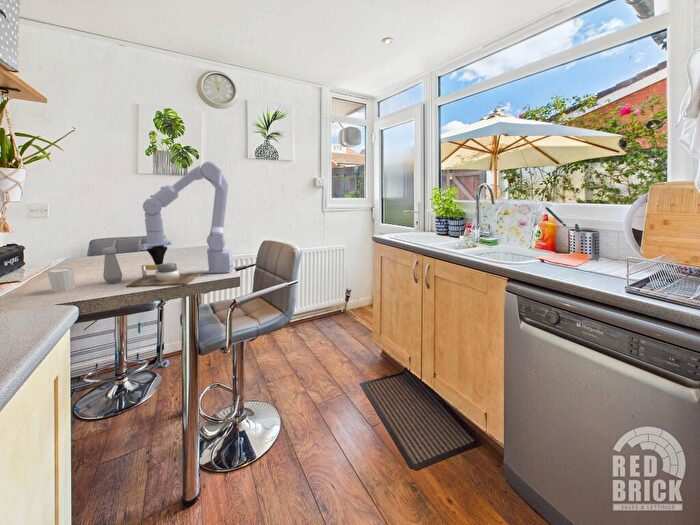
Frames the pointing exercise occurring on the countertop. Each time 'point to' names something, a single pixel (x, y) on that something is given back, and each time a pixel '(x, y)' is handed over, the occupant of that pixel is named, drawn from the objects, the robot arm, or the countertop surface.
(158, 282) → the board
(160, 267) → the lid
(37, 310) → the countertop surface
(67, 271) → the grey tapered cup
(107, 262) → the salt shaker
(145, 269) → the stop pin
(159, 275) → the jar
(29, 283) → the countertop surface
